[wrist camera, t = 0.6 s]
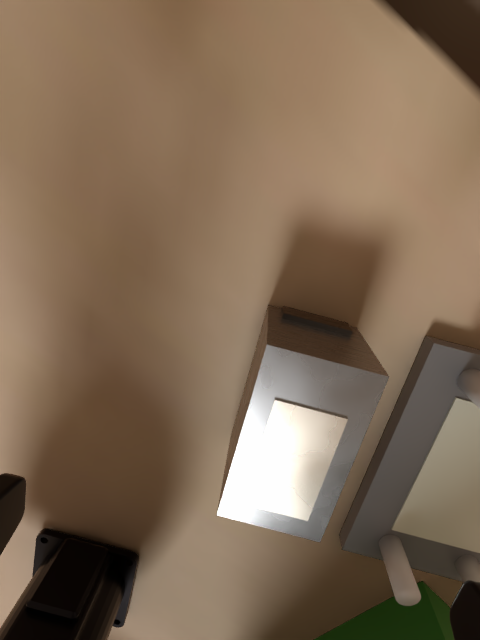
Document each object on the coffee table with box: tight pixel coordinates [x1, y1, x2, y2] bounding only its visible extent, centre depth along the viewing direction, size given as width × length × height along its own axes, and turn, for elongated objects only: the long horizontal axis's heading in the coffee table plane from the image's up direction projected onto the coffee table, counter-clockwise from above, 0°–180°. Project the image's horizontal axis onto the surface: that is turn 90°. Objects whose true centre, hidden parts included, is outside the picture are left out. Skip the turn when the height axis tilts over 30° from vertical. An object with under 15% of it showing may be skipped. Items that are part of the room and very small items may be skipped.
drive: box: [217, 305, 389, 542], centre depth 17 cm, size 8×4×6 cm, turn 166°
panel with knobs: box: [339, 336, 480, 606], centre depth 19 cm, size 13×9×4 cm
